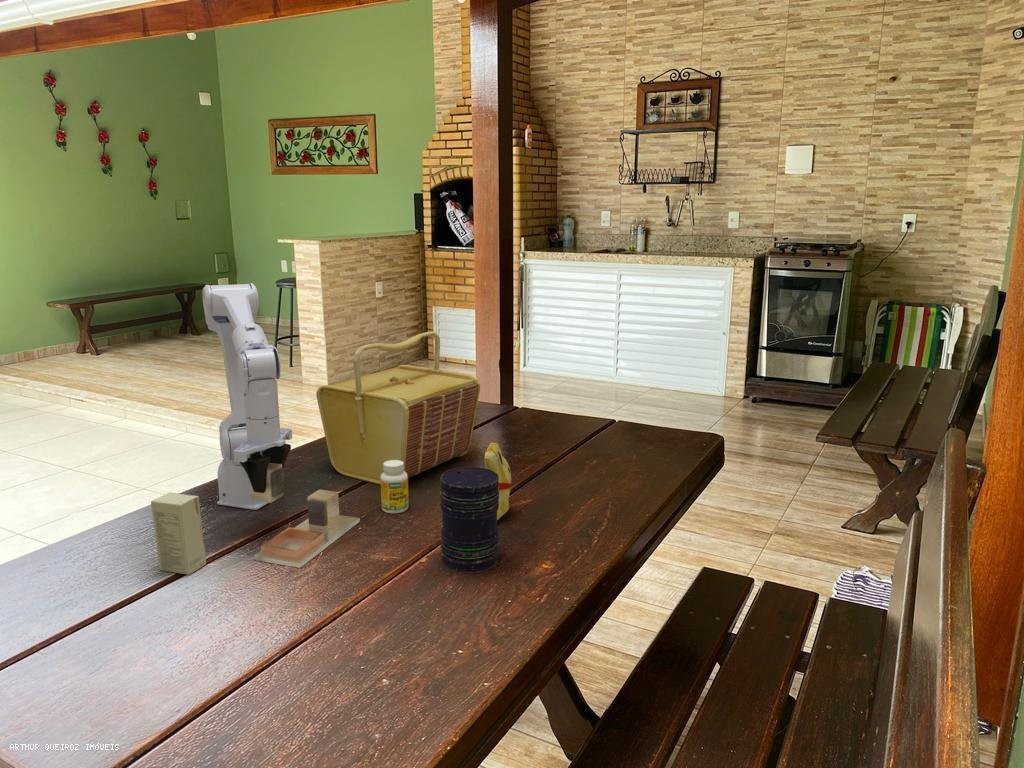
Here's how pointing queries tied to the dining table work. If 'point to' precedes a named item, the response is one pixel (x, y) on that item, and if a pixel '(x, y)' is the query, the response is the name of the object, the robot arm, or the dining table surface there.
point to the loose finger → (271, 484)
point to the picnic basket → (398, 416)
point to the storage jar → (469, 519)
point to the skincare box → (178, 533)
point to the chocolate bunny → (502, 468)
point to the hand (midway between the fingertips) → (267, 487)
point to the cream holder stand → (308, 532)
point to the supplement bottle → (394, 487)
